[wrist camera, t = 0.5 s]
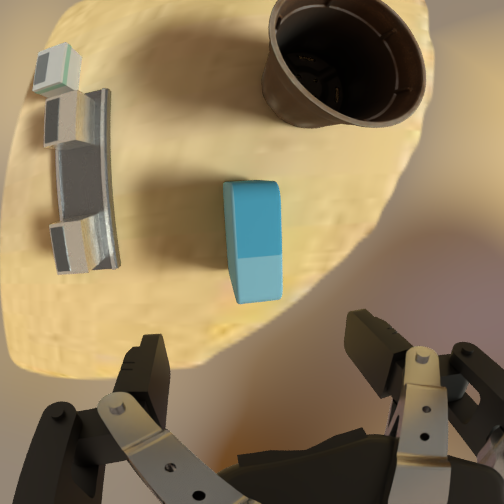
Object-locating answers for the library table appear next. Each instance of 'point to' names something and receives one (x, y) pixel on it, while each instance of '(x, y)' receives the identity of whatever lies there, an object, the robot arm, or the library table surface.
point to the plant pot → (342, 64)
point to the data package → (253, 239)
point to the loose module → (57, 71)
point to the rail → (82, 181)
